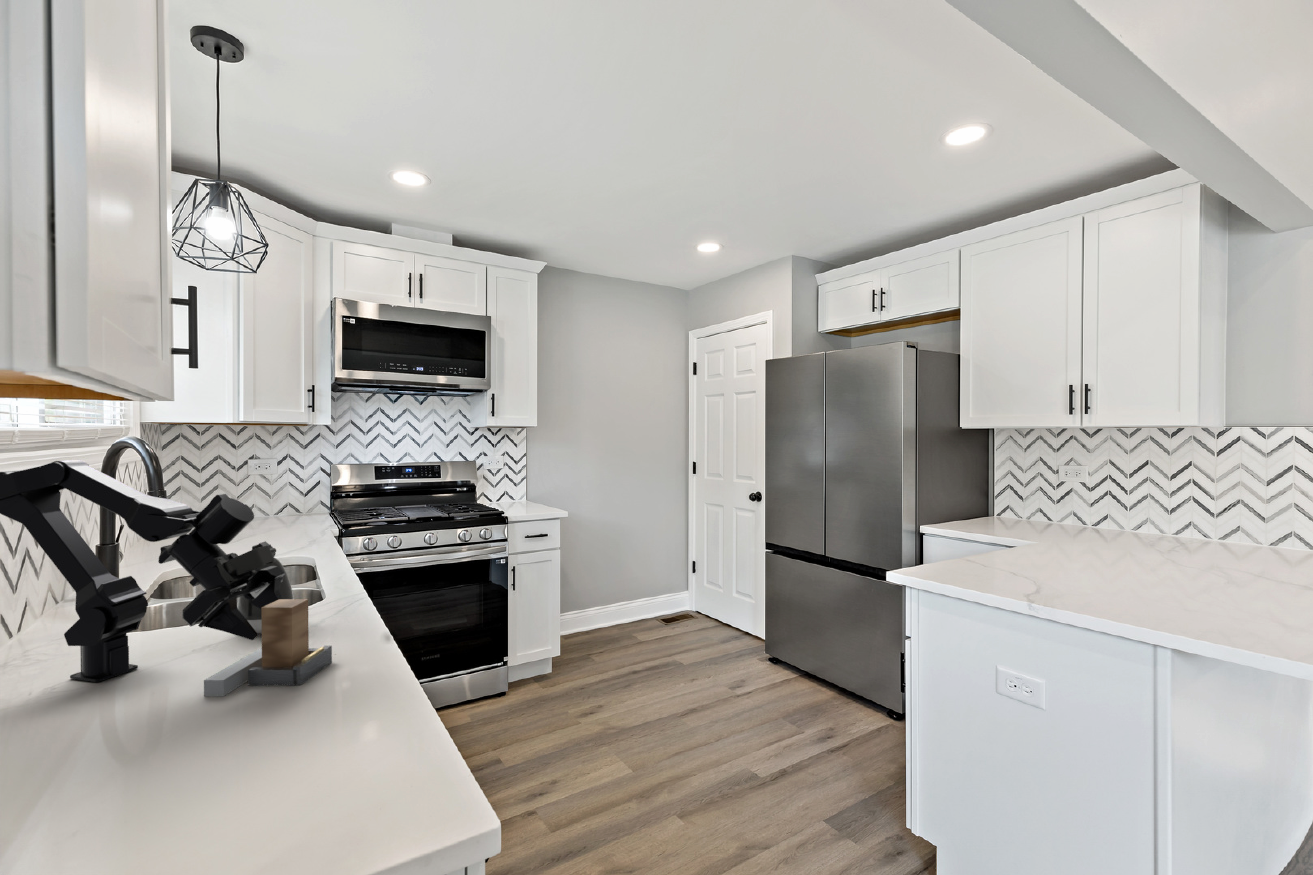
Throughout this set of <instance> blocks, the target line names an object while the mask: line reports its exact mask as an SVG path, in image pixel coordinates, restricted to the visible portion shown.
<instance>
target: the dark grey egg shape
mask: <svg viewBox="0 0 1313 875" xmlns="http://www.w3.org/2000/svg"><path fill="white" fill-rule="evenodd" d="M274 559H275V562H273V563H271V564H269V563H268V564H266V565H264V566H261V567H259V568H257V569H254V570H255V571H256V573H257V572H258V571H259V570H261V569H264V568H267V567H269V566H278V567H279V568H280V569H281V570H282V571H283V572H284V573H285V575H284V576H283V581H282V582H281V584H280V594H281V597H282V599H295V598H294V593H293V588H292V585H291V581H290V579H289V576H288V573H287V571H286V569H285V567H284V565H283V564H282V562H280V560H279V559H277V558H276V557H274ZM256 573H255V574H256ZM255 574H254V575H255ZM254 575H253V576H254ZM253 576H252V577H253ZM252 577H250V578H249V580H250V579H251V578H252ZM240 591H241V590H240ZM252 601H253V600H250V599H246V598H245V597H244V596H241V597H238V598H237V608H238V610H239V611H240V612H241V614H242V615H243V616H244V617H245V618H246V620H247V621H248V622H249V623H250V625H251V626H252V627H253V628H254V630H255V631H256V633H257V634H261V635H262V610H261V609H259V608H257V607H256V606H254V605H252V604H251V602H252Z"/></svg>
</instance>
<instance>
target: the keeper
mask: <svg viewBox="0 0 1313 875" xmlns="http://www.w3.org/2000/svg"><path fill="white" fill-rule="evenodd" d="M332 648H333V646H332V645H324V646H321V647H318V648H317V647H316V648H310V647H309V655H308V656H307V657H305V658H304V659H302V661H301V662H300V663H298V664H297V665H295V666H294V667H253V668H251V669H249V670H248V681H247V682H248V685H247V686H302V685H304V683H306V682H307V681H309V680H310V679H311V678H312V677H314V676H315V675H317V674H318V673H319V672H321V671H322V670H324V669H325V668H326V667H327V666H329V665H330V664H332V662H333V649H332Z"/></svg>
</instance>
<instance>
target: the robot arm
mask: <svg viewBox="0 0 1313 875" xmlns="http://www.w3.org/2000/svg"><path fill="white" fill-rule="evenodd" d="M63 490H68V491H70V492H71V493H74V494H76V495H77V496H80V497H82V498H84V499H85V500H87V501H90V502H92V503H94V504H96V505H98V506H99V507H101V508H103V509H105V510H106V511H107V510H108V511H110V512H111V513H113V514H116V515H118V516H119V517H120V518H122V519H124V522H125V523H126V525H127V528H128V529H129V530H131V531H132V532H134V534H136V535H138V537H140V538H142V539H143V540H144V541H148V542H151V543H155V542H161V541H166V540H170V539H174V538H176V539H175V540H174V541H173V542H172V543H171V544H168V545H164V546H161V547H160V554H159V556H158V564H165V563H168V562H173V561H176V562H177V563H178V564H179V565H180V566H181V567H182V568H183V569H184V570H185V571H186V572H187V573H188V575H190V576H191V577H192V579H191V580H190V581H189V582H188V583H189V584H190V585H191V586H192V587H196V586H201V587H202V589H203V590H202V591H201V592H200V593H198V594H197V596H195V598H193V600H192V601H190V603H188V604H187V605H186V606H185V607H184V608H183V609H182V616H181V617H182V620H183V621H184V622H185V623H187V625H189V627H193V626H196V625H198V627H199V628H203V627H204V628H208V629H209V628H210V629H211V630H216V631H221V632H224V633H228V634H230V635H231V634H232V635H234V636H239V637H240V638H244V639H247V640H251V641H253V640H255V639H256V638H257V637H258V634H257V633H256V631H255V630H254V628H253V627H252V626H251V625H250V623H249V622H248V621H247V620H246V618H245V617H244V616H243V615H242V614H241V612H240V611H239V610H238V608H237V604H238V598H239V597H241V596H244V597H245V598H246V599H250V600H253V601H252V602H251V604H252V605H254V606H256V607H257V608H259V609H261V608H262V607H264V606H266V605H268V604H270V603H272V602H275V601H277V600H279V599H282V597H281V594H280V584H281V582H282V581H283V576H284V575H285V573H284V572H283V571H282V570H281V569H280V568H279V567H278V566H269V567H267V568H264V569H261V570H259V571H258V572H257V573H256V571H255V570H254V569H257V568H259V567H261V566H264V565H266V564H268V563H269V564H271V563H273V562H275V559H274V558H275V556H276V552H277V549H276V548H275V547H273V546H272V545H271V544H270V543H268V542H267V541H265V540H264V541H263V542H260V543H259V542H258V544H255V545H253V546H252V547H251V550H249V551H247V552H244V553H242V554H239V555H238V554H237V553H235V552H231V553H226V552H225V551H224V550H223V549H222V548H221V547H220V546H219V544H220V545H228V544H229V543H231V542H232V541H233V540H234V539H235V538H236V537H237V536H238V535H239V534H240V533H241V532H242V531H243V530H245V528H246V527H247V526H248V525H249V524H251V522H252V521H254V519H255V515H254V511H253V510H252V509H251V507H250V506H248V504H245V503H243V502H241V501H239V500H238V499H235V498H231V497H229V495H228V494H227V493H220V494H216V495H215V496H214V497H213V498H212V499H211V500H210V501H209V503H208V504H207V505H206V506H205V507H204V508H203V509H202V510H201V511H200V510H194V509H193V508H192V507H191V506H189V505H188V504H186V503H183V502H179V501H176V500H172V499H169V498H165V497H157V496H152V495H149V494H145V493H144V492H142V491H140V490H137V489H136V488H133V487H131V486H130V485H127V484H126V483H123V482H122V481H119V480H117V479H115V478H114V477H112V476H110V475H108V474H106V473H103V472H102V471H99V470H97V469H96V468H93V467H92V466H90V465H89V464H88V463H87V462H85V461H84V460H81V459H80V460H79V459H70V460H55V461H52V462H50V463H45V464H43V465H40V466H39V465H38V466H35V467H31V468H26V469H23V470H8V471H0V515H3V516H5V517H6V518H8V519H11V520H13V521H15V522H17V523H20V524H21V525H22V526H24V528H26V530H27V531H28V532H29V534H30V535H31V536H32V537H33V539H34V540H35V542H36V543H37V544H38V546H40V548H41V549H42V550H43V552H44V553H45V554H46V556H47V557H48V558H49V560H51V562H52V563H53V564H54V566H55V567H56V568H57V570H58V571H59V572H60V573H61V575H62V576H63V578H64V579H65V580H66V581H67V582H68V584H69V585H70V586H71V588H72V590H74V592H75V604H74V605H75V606H74V608H75V609H74V610H75V612H76V614H77V615H78V618H79V619H77V621H76V622H74V623H73V625H71V626H70V627H69V628H68V629H67V630H66V631H65V632H64V634H63V635H64V636H63V637H64V639H65V641H66V645H67V646H68V647H80V671H78V672H75V673H73V674H70V675H69V678H70V679H71V680H79V681H83V682H84V681H86V682H91V683H93V682H94V683H100V682H103V681H106V680H108V679H110V678H113V677H117V676H119V675H123V674H125V673H129V672H131V671H135V670H136V669H139V666H138V664H133V663H131V664H130V646H129V636H128V635H127V633H130V632H133V631H137V630H138V629H139V627H140V625H141V622H142V619H143V618H144V617H145V615H146V613H147V608H148V606H149V603H148V602H149V601H148V600H147V597H146V596H145V595H147V591H145V590H143V589H142V588H141V586H139V584H138V582H137V581H136V579H135V578H134V577H133V576H132V575H128V576H125V577H120V578H119V577H117V576H115V575H112V574H111V573H110V572H109V570H108V569H107V567H105V565H104V564H103V563H102V561H101V560H100V559H99V557H98V556H97V554H96V553H95V552H94V551H93V549H92V548H91V547H90V546H89V544H88V543H87V542H86V541H85V540H84V538H83V537H82V535H81V534H80V533H79V532H78V530H77V529H76V528H75V527H74V525H73V524H72V523H71V522H70V521H69V519H68V517H67V516H66V515H65V513H63V511H62V509H61V495H62V494H61V491H63ZM255 573H256V574H255ZM254 574H255V575H254ZM253 575H254V576H253ZM252 576H253V577H252ZM250 577H252V578H251V579H250V580H249V578H250ZM240 590H241V591H240Z"/></svg>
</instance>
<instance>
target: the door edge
mask: <svg viewBox="0 0 1313 875" xmlns="http://www.w3.org/2000/svg"><path fill="white" fill-rule="evenodd" d="M253 667H262V647H260V648H258V649H256V650H255V651H252V652H251V653H250V654H248V655H245V656H243V657H242V658H240V659H239V660H237V661H236V662H233V663H232V664H230V665H228V666H226V667H225V668H223V669H221V670H219V671H218V672H216V673H214V674H213V675H210V676H208V677H207V678H205V679H204V680H203V696H204V697H224V696H226V695H228V694H229V693H231V692H232V691H233V690H235V689H237V688H239V687H240V686H242V685H243V684H245V683H247V682H248V670H249V669H251V668H253Z"/></svg>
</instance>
